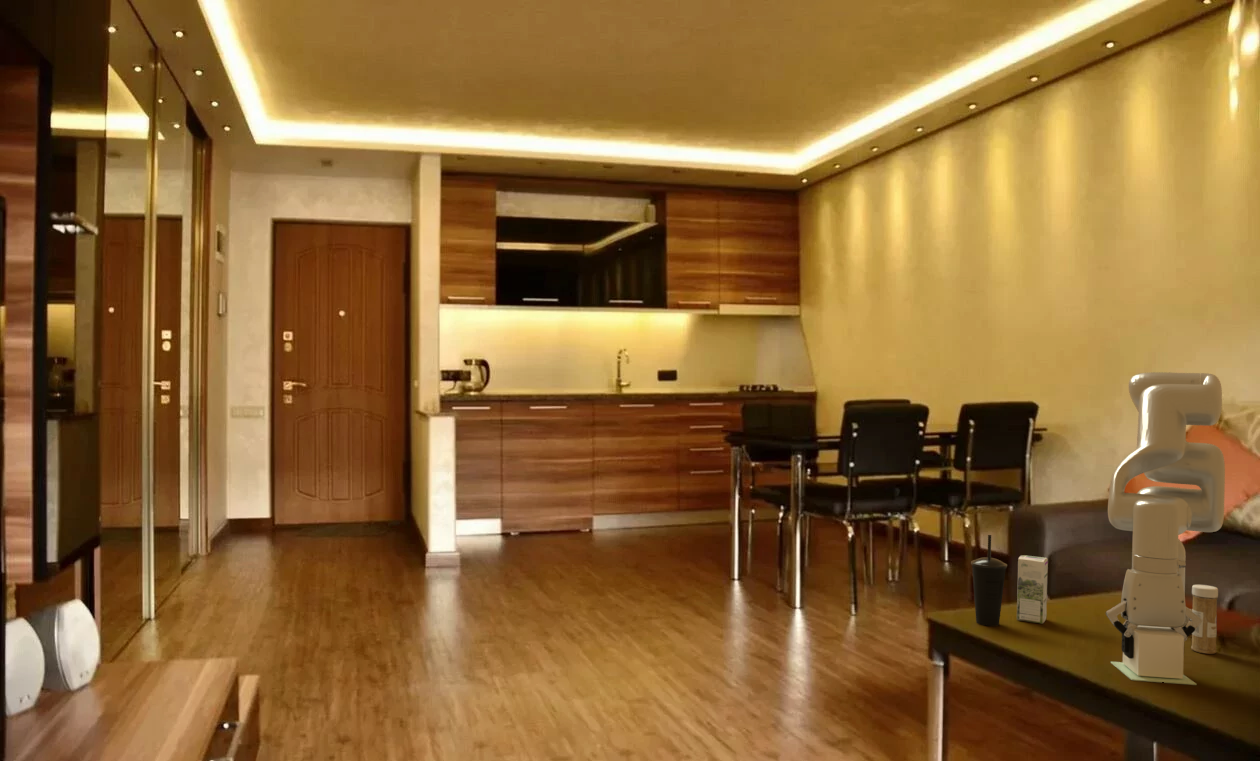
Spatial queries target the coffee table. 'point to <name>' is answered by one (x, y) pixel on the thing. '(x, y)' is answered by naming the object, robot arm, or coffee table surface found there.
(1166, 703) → the coffee table surface
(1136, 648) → the cream matte cube
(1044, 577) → the syrup box
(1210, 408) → the robot arm
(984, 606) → the drinking cup
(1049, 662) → the coffee table surface
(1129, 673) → the mark
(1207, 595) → the sprinkles bottle
